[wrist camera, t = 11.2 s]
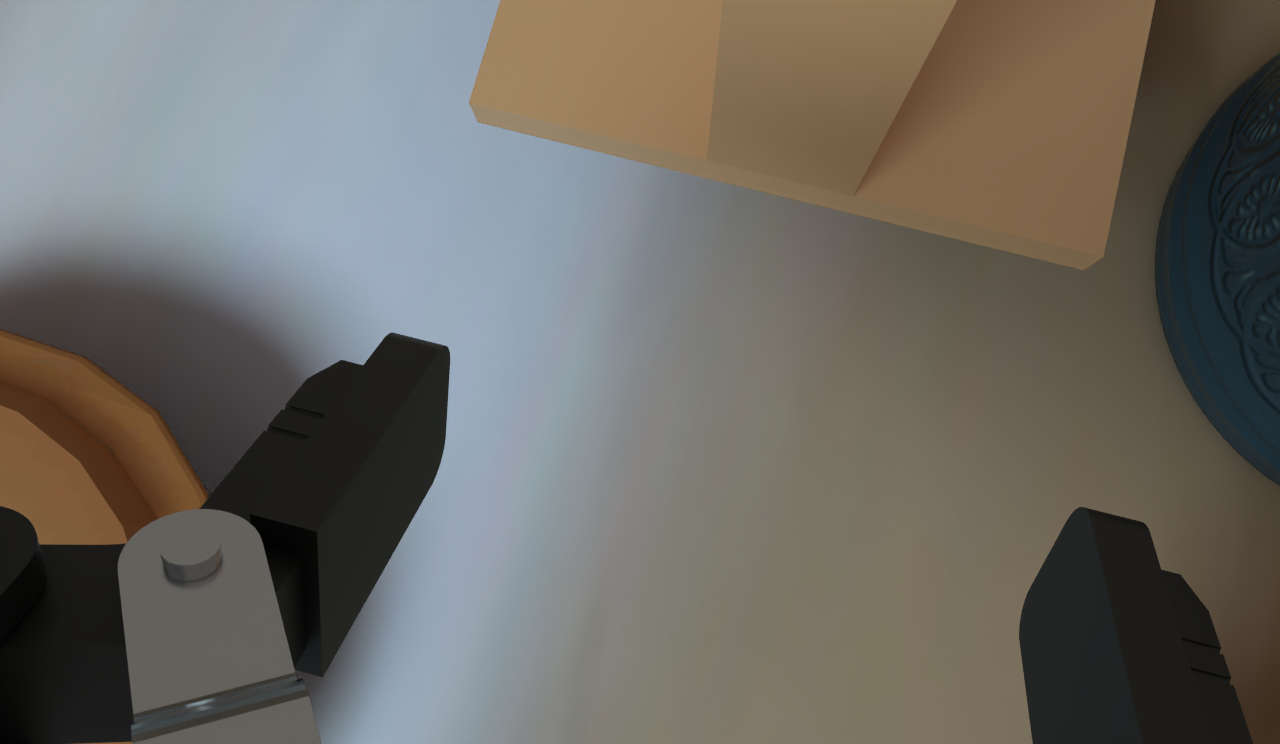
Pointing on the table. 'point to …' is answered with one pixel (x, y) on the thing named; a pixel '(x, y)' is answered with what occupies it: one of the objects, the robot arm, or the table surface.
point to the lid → (847, 103)
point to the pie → (84, 450)
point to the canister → (1229, 270)
